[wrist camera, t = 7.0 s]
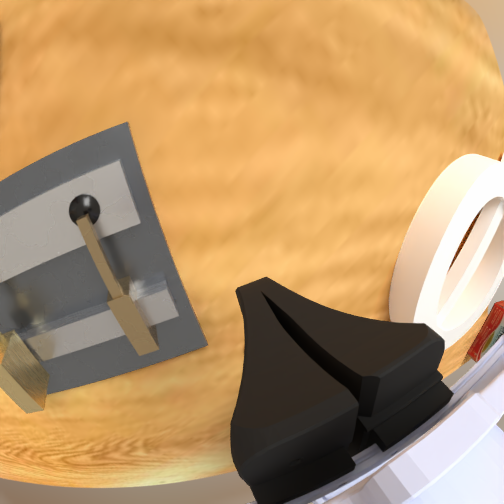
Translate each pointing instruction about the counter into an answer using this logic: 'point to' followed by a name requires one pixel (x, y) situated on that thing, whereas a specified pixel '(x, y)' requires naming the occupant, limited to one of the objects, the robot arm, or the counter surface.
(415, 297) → the white circle with bar
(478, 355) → the medicine box
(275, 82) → the counter surface
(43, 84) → the counter surface
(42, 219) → the grey mechanism base plate
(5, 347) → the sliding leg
